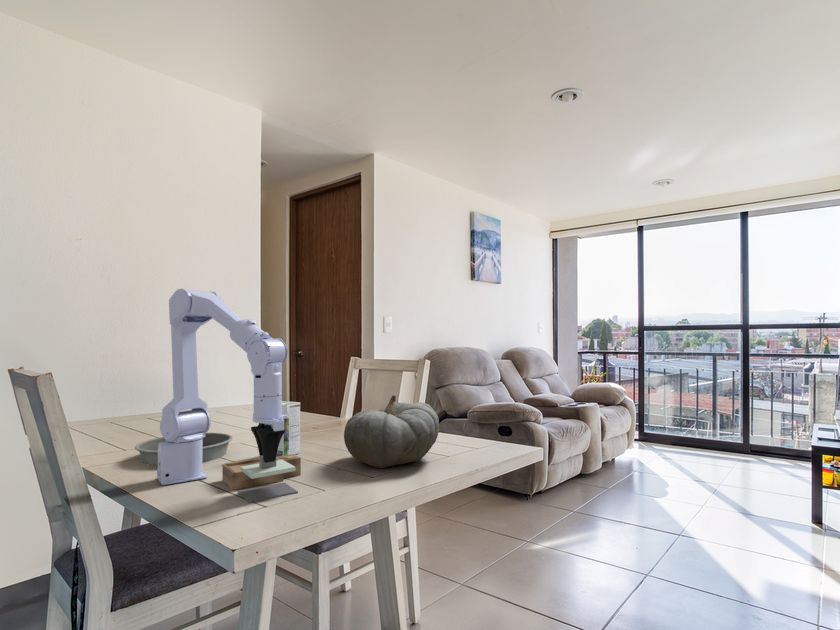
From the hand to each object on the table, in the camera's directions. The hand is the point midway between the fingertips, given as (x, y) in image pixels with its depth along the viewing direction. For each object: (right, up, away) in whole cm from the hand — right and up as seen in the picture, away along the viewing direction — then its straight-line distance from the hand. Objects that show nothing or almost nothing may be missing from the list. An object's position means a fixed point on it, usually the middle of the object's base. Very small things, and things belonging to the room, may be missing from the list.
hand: (267, 460), depth 104 cm
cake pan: (-33, -9, +34) cm, 48 cm away
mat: (0, -7, 0) cm, 7 cm away
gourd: (+25, -8, +24) cm, 35 cm away
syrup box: (-5, -8, +34) cm, 35 cm away
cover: (0, -2, 0) cm, 2 cm away
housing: (-4, -7, +10) cm, 13 cm away
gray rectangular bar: (-4, -8, +22) cm, 23 cm away
